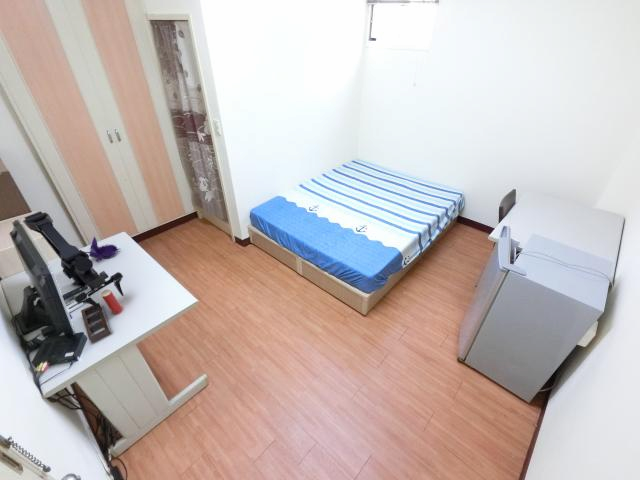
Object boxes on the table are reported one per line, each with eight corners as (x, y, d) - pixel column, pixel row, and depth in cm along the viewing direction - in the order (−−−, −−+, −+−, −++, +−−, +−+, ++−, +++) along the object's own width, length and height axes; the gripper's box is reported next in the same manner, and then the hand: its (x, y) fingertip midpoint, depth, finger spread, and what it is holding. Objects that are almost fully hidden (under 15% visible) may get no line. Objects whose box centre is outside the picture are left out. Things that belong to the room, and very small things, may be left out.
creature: (85, 257, 162) (74, 240, 155) (122, 246, 170) (113, 229, 162) (85, 266, 157) (74, 249, 149) (123, 255, 164) (114, 238, 157)
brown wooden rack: (83, 314, 132) (80, 310, 130) (101, 306, 136) (99, 302, 134) (92, 343, 121) (89, 339, 119) (111, 333, 125) (108, 329, 123)
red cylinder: (111, 313, 133) (98, 295, 125) (116, 306, 136) (104, 289, 128) (118, 314, 132) (106, 296, 125) (124, 307, 135) (112, 290, 128)
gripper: (63, 284, 115) (90, 314, 117) (111, 258, 127) (135, 286, 130) (65, 289, 123) (90, 317, 126) (110, 264, 136) (132, 290, 138)
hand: (112, 302), depth 129 cm, fingers open, 9 cm apart
